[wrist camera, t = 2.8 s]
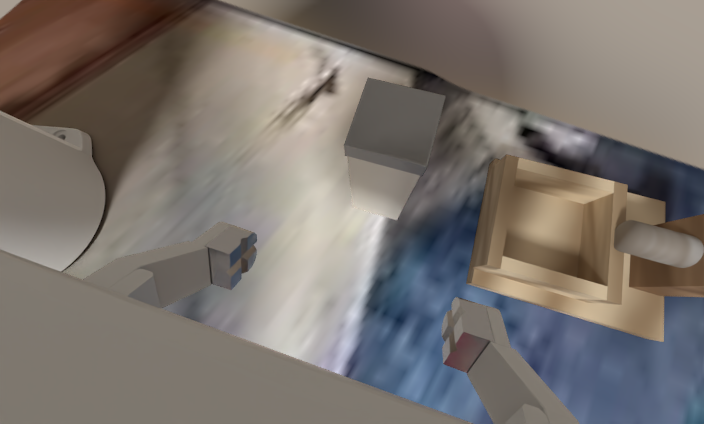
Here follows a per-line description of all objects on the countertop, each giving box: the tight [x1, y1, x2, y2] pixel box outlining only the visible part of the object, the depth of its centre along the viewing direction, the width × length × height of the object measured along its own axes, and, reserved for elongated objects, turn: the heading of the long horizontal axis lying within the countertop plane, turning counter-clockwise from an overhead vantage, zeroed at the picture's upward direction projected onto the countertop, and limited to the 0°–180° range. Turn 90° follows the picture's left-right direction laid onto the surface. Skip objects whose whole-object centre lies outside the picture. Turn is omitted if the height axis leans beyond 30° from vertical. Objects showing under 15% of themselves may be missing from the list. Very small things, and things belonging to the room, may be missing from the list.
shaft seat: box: [466, 155, 704, 342], centre depth 22 cm, size 15×12×7 cm
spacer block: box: [344, 78, 446, 220], centre depth 21 cm, size 5×5×12 cm
